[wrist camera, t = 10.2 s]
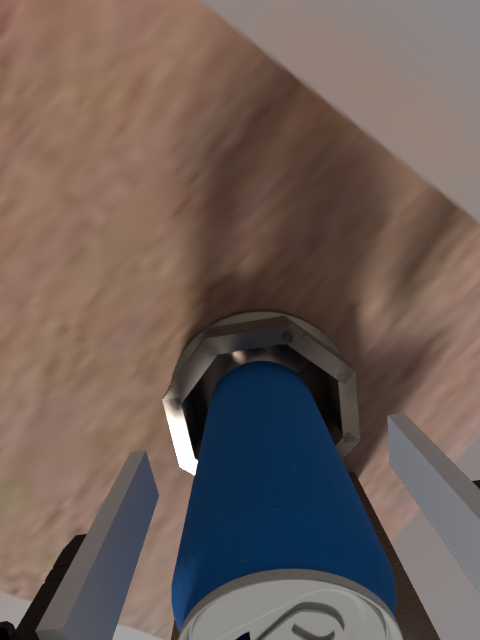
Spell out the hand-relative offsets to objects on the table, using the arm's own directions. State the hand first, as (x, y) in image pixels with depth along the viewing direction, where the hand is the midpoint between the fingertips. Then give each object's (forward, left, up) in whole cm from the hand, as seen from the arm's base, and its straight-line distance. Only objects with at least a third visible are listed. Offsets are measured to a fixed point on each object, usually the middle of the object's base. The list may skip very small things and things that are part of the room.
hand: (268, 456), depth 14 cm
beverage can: (0, 0, -5) cm, 5 cm away
